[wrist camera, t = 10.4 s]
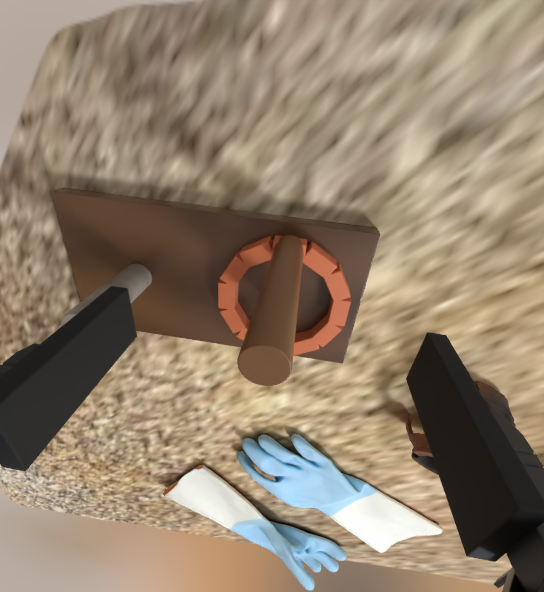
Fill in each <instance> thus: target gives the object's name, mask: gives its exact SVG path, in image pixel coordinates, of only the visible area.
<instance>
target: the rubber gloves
mask: <svg viewBox="0 0 544 592" xmlns="http://www.w3.org/2000/svg"><path fill="white" fill-rule="evenodd" d="M291 441H292V443H293V445H294V446H295V448H296V449H297V451H298V452H299V453H300V454H301V455H302V456H303V457H304V458H303V457H301V456H299V455H297V454H295V453H293V452H291V451H289V450H288V449H286V448H284V447H283V446H282V445H280V444H279V443H278V442H276V441H275V440H274V439H273V438H271V437H270V436H268V435H261V436H259V438H258V443H259V444H260V445H259V444H258V443H257V442H256V441H255V440H253V439H251V438H245V439H244V440H243V442H242V448H243V449H244V451H245V452H244V451H239V452H238V453H237V459H238V461H239V463H240V464H241V466H242V467H243V468H244V470H245V471H246V472H247V473H248V474H249V475H250V476H251V478H252V479H253V480H255V481H256V482H258V483H259V484H260V485H261V486H263V487H264V488H265V489H266V490H268V491H269V492H271V493H272V494H273V495H274V496H276V497H277V498H278V499H280V500H281V501H283V502H285V503H286V504H288V505H291V506H294V507H299V508H316V509H318V510H320V511H321V512H323V513H324V514H326V515H327V516H329V517H330V518H332V519H333V520H334V521H336V522H337V523H338V524H340V525H341V526H342V527H344V528H345V529H346V530H348V531H349V532H351V533H352V534H354V535H355V536H357V537H358V538H359V539H361V540H362V541H364V542H365V543H366V544H368V545H369V546H371V547H372V548H373V549H375V550H377V551H379V552H380V553H383V552H385V551H386V550H387V549H388V548H389V546H392V545H393V544H394V543H396V542H398V541H401V540H404V539H409V538H410V537H413V536H418V535H437V534H440V533H442V531H443V530H442V527H440V526H439V525H437V524H435V523H434V522H432V521H430V520H429V519H427V518H425V517H423V516H422V515H420V514H418V513H417V512H415V511H413V510H412V509H410V508H408V507H407V506H405V505H403V504H401V503H399V502H398V501H396V500H394V499H392V498H390V497H389V496H387V495H385V494H383V493H382V492H380V491H379V490H377V489H375V488H374V487H372V486H371V485H369V484H368V483H366V482H364V481H361V480H359V479H357V478H354V477H352V476H349V475H346V474H343V473H341V472H340V471H339V470H338V469H337V468H336V467H335V465H334V464H333V463H332V462H331V460H330V459H329V458H327V457H326V456H325V455H323V454H322V453H321V452H319V451H318V450H317V449H315V448H314V447H313V446H312V445H311V444H309V443H308V442H307V441H306V440H305V439H304V438H303V437H301V436H300V435H298V434H293V435H292V436H291ZM250 459H251V460H252V461H253V462H254V463H255V464H256V465H257V466H258V467H259V468H260V469H261V470H262V471H263V472H265V473H267V474H269V475H271V476H275V479H276V481H273V480H269V479H267V478H265V477H264V476H263V475H261V474H259V473H258V472H257V471H256V469H255V468H254V466H253V465H252V462H251V460H250ZM163 495H164V496H165V497H167V498H169V499H171V500H173V501H175V502H177V503H179V504H181V505H183V506H185V507H187V508H189V509H191V510H193V511H195V512H197V513H199V514H201V515H203V516H206V517H208V518H210V519H211V520H213V521H215V522H217V523H218V524H220V525H222V526H224V527H226V528H228V529H230V530H232V531H234V532H235V533H237V534H239V535H241V536H243V537H244V538H246V539H247V540H249V541H251V542H254V543H256V544H259V545H261V546H263V547H265V548H267V549H269V550H270V551H272V552H273V553H275V554H276V555H278V556H279V557H280V558H281V559H282V561H283V562H284V563H285V565H286V566H287V567H288V568H289V569H290V571H291V572H292V573H293V574H294V576H295V577H296V578H297V579H298V581H299V582H300V583H301V585H302V586H303V587H304V588H306V589H307V590H313V588H314V580H313V577H312V576H311V575H310V574H309V573H308V572H307V571H306V570H305V569H304V568H303V566H304V565H303V562H302V561H304V562H305V563H306V564H307V565H308V566H310V568H311V569H312V570H313V571H314V572H320V571H321V564H320V563H322V564H323V565H324V566H325V567H326V568H327V569H328V570H329V571H331V572H335V571H337V570H338V568H339V566H338V564H337V562H336V561H335V560H334V559H333V558H332V557H331V556H333V557H334V558H335V559H337V560H339V561H343V560H345V559H346V553H345V551H344V550H343V549H342V548H341V547H339V546H338V545H337V544H335V543H334V542H332V541H331V540H328V539H326V538H323V537H320V536H317V535H313V534H309V533H307V532H304V531H302V530H299V529H297V528H294V527H292V526H288V525H284V524H279V523H275V522H271V521H268V520H267V519H266V518H265V517H264V516H263V515H262V514H261V513H260V512H259V511H258V510H257V509H256V508H255V507H254V506H253V505H252V504H251V503H250V502H249V501H248V500H247V499H246V498H245V497H244V496H242V495H241V494H240V493H239V492H238V491H237V490H235V489H234V488H233V487H232V486H231V485H229V484H228V483H227V482H226V481H224V480H223V479H222V478H221V477H219V476H218V475H217V474H215V473H214V472H213V471H211V470H210V469H208V468H207V467H205V466H204V465H199V466H198V467H196V468H195V469H192V471H190V472H189V473H187V474H185V475H184V476H183V477H181V479H180V480H179V481H177V482H175V483H173V484H172V485H170V486H169V487H168V488H167V489H166V490H165V492H164V493H163ZM330 555H331V556H330Z"/></svg>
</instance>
